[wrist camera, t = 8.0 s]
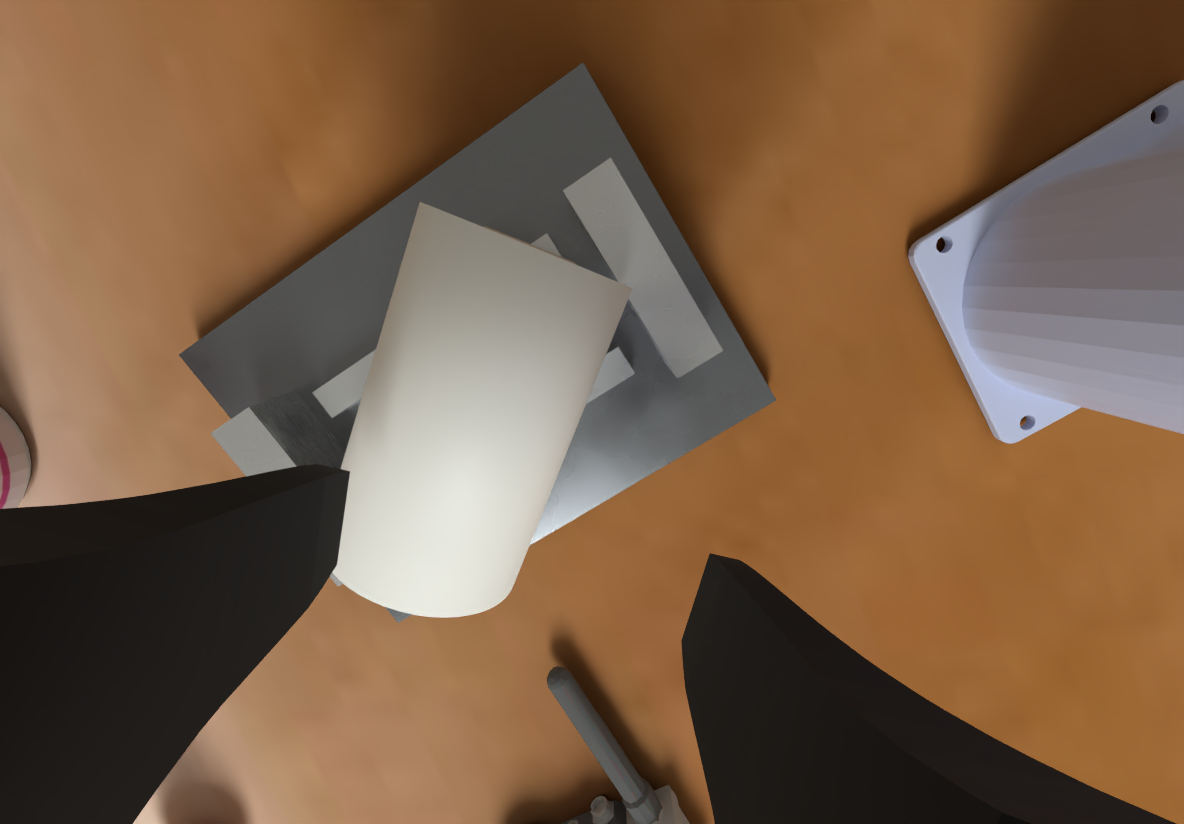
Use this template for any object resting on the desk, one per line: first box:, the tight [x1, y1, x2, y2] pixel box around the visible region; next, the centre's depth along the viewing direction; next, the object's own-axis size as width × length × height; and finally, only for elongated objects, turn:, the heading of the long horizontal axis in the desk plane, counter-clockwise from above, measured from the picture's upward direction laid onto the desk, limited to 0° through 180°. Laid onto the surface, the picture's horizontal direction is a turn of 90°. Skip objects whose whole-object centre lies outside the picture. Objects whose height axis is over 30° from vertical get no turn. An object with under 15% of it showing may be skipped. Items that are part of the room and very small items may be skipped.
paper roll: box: [332, 202, 632, 618], centre depth 15 cm, size 9×6×6 cm, turn 159°
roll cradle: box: [179, 63, 776, 623], centre depth 17 cm, size 16×12×4 cm
